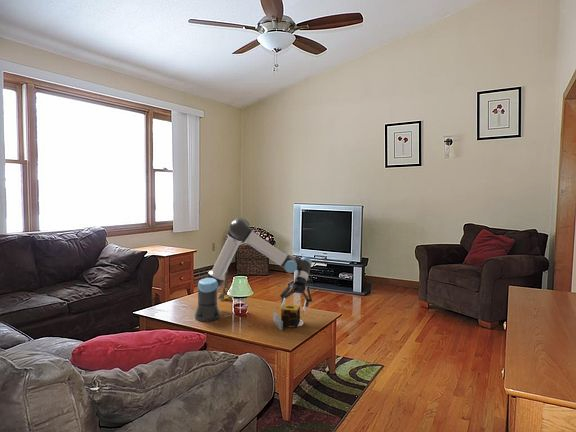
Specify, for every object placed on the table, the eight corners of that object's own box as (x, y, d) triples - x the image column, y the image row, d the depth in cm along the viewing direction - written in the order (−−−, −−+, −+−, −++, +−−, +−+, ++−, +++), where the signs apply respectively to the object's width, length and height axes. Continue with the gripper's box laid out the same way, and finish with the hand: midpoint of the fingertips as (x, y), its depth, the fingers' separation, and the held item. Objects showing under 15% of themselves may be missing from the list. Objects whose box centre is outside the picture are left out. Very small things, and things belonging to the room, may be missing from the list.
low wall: (280, 330, 227) (280, 322, 227) (273, 320, 244) (273, 312, 244) (282, 330, 227) (282, 321, 227) (275, 320, 245) (275, 312, 244)
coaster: (283, 327, 232) (283, 326, 232) (277, 319, 245) (277, 318, 245) (306, 326, 235) (306, 325, 235) (299, 318, 249) (299, 317, 249)
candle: (297, 327, 231) (297, 310, 230) (280, 325, 233) (280, 309, 232) (300, 321, 241) (300, 305, 240) (284, 320, 243) (284, 304, 242)
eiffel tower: (219, 301, 280) (220, 266, 279) (217, 297, 290) (217, 263, 288) (234, 300, 284) (235, 266, 282) (231, 296, 294) (232, 263, 292)
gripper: (321, 285, 251) (313, 315, 238) (284, 280, 259) (275, 310, 246) (319, 278, 245) (311, 309, 232) (281, 274, 254) (272, 303, 241)
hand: (292, 309), depth 239 cm, fingers open, 13 cm apart
